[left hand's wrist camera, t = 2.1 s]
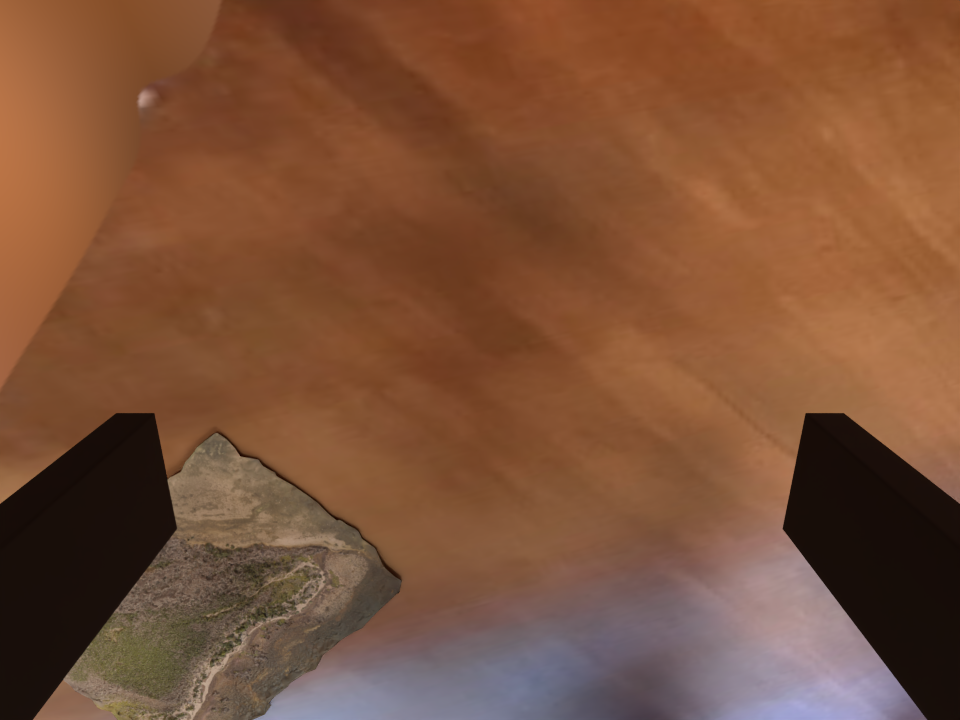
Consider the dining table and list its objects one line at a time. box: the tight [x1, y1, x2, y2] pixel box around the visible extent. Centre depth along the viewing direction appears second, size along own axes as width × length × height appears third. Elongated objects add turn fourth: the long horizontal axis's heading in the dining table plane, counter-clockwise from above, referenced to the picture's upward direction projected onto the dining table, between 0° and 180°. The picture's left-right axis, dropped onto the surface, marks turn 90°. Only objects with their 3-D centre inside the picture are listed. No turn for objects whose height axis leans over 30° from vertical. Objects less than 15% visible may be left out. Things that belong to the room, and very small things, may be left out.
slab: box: [63, 433, 401, 720], centre depth 49 cm, size 28×20×1 cm
